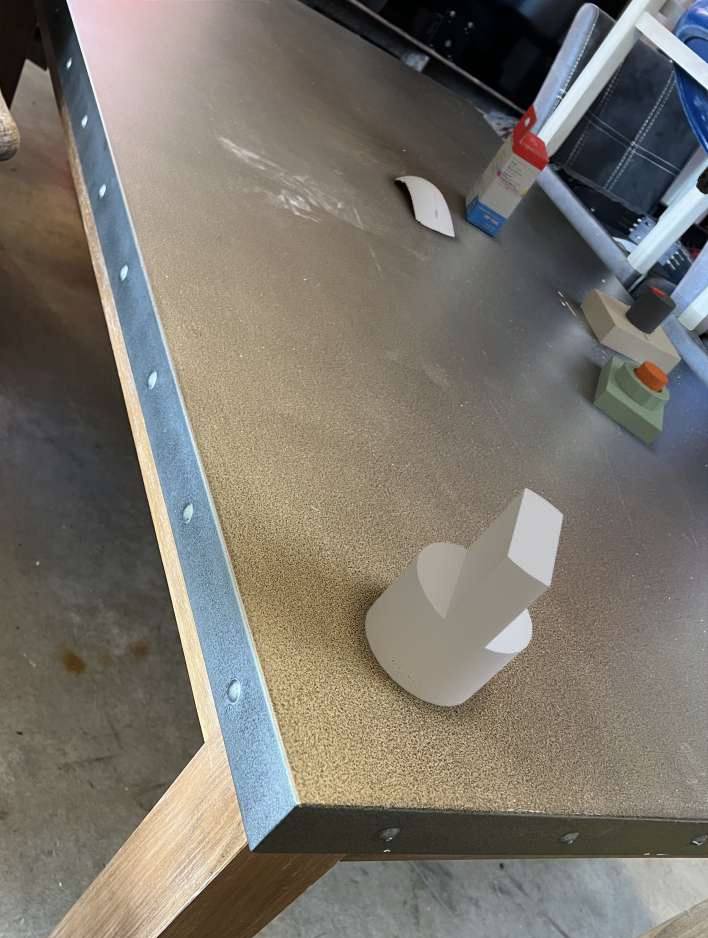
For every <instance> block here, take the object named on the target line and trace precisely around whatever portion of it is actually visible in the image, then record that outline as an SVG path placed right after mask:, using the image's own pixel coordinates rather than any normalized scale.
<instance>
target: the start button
mask: <svg viewBox="0 0 708 938" xmlns="http://www.w3.org/2000/svg"><path fill="white" fill-rule="evenodd" d="M640 365H641V366H640V367H639V368H638V369H637V370H636V371H635V372H634V373H635V374H636V376H637V378H638V379H639V380H640V381H641V382H642V383H643V384H645V385H646V386H647V387H649V388H650V389H651V390H653V391H655V392H657V393H658V392H659V391H660V390H661V389H662V388H663V387H664V385H665V386H666V385H667V383H669V377H668V375H666V374H665V373H664V372H663V371H662V370H661V369H660V368H659V367H657V366H656V365H655V364H653V363H651V362H649V361H644V362H643V363H642V364H640Z"/></svg>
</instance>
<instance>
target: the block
mask: <svg viewBox="0 0 708 938" xmlns="http://www.w3.org/2000/svg"><path fill="white" fill-rule="evenodd" d="M640 366H641V364H640V363H638V362H637V361H635V360H626V361H625V362H624V361H623V360H622V359H620V358H618V357H617V356H616V355H615V354H613V355H612V356H611V357H610V358H608V360H607V361H606V362H605V363H604V364H603V366H602V367H601V368H600V372H599V376H598V380H597V385H596V389H595V392H594V393H595V394H594V398H593V401H592V404H593V405H594V406H595V407H597V408H598V409H599V410H601V411H602V412H603V413H605V414H606V415H607V416H609V417H610V418H611V419H612V420H614V421H615V422H616V423H618V424H619V425H621V427H623V428H625V429H626V430H627V431H629V432H630V433H631V434H633V435H634V436H635V437H637V438H638V439H639V440H641V442H643V443H645V444H646V445H647V446H649V445H650V444H651V443H652V442H653V441H654V440H655V439H657V437H658V436H659V435H660V434H661V433H663V424H664V413H665V412H664V411H665V405H666V404H667V403H668V402H669V401H670V398H671V393H670V391H669V390H668V388H667V387H666V384H665V385H664V387H663V388H662V389H661V390H660V391H659V392H658V393H657V392H655V391H653V390H651V389H650V388H649V387H647V386H646V385H645V384H643V383H642V382H641V381H640V380H639V379H638V378H637V376H636V374H635V373H634V372H635V371H636V370H637V369H638V368H639V367H640Z"/></svg>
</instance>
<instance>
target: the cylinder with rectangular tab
mask: <svg viewBox="0 0 708 938" xmlns="http://www.w3.org/2000/svg"><path fill="white" fill-rule="evenodd" d="M563 519H564V514H563V513H562V512H561V511H560V510H559V509H557V508H556V507H555V506H554V505H553V504H551V503H550V502H549V501H547V499H545V498H543V497H542V496H541V495H539V494H538V493H535V492H534V491H532V490H531V489H529V488H527V487H525V488H524V489H522V491H521V492H520V493H519V494H518V495H517V496H516V497H515V498H514V499H513V500H512V501H511V502H510V503H509V504H508V505H507V506H506V507H505V509H504V510H503V511H502V512H501V513H500V514H499V515H498V516H497V517H496V518H495V519H494V521H492V522H491V523H490V525H488V526H487V527H486V529H485V530H484V531H483V532H482V533H481V534H480V535H479V536H478V537H477V539H476V540H474V542H472V544H471V545H470V546H469V547H468V548H466V547H463V546H462V545H459V544H455V543H451V542H446V541H442V542H432V543H430V544H428V545H426V546H424V547H423V548H422V549H421V550H420V551H419V553H417V554H416V556H415V557H414V558H413V559H412V560H411V561H410V563H408V565H406V567H404V569H403V570H402V572H400V574H399V575H397V577H396V578H395V579H394V580H393V581H392V582H391V584H390V585H389V586H388V587H387V588H386V589H385V590H384V591H383V592H382V593H381V595H380V596H379V597H378V598H377V599H376V600H375V602H374V603H373V604H372V605H371V606H370V608H369V609H368V611H367V612H366V615H365V620H364V629H365V637H366V640H367V642H368V645H369V648H370V650H371V652H372V654H373V656H374V658H375V659H376V660H377V662H378V664H379V665H380V667H381V668H382V669H383V670H384V671H385V673H386V674H387V675H388V676H389V677H390V678H391V680H393V681H394V682H395V683H396V684H397V685H399V686H400V687H401V688H402V689H403V690H405V691H406V692H407V693H409V694H410V695H412V696H414V697H416V698H418V699H419V700H421V701H422V702H423V701H424V702H426V703H429V704H432V705H435V706H440V707H454V706H457V705H458V706H459V705H462V704H463V703H465V702H466V701H468V700H469V699H470V698H471V697H472V696H474V694H475V693H477V692H478V691H479V690H480V689H481V688H482V687H484V686H485V685H486V684H487V683H488V682H489V681H490V680H491V679H492V678H493V677H494V676H496V675H497V674H498V673H499V672H500V671H502V669H503V668H505V667H506V666H507V665H508V664H509V663H510V662H511V661H513V660H514V659H515V658H516V657H517V656H518V655H519V654H520V653H522V652H523V651H524V650H525V649H526V648H527V647H528V646H529V644H530V642H531V640H532V637H533V623H532V619H531V615H530V612H529V610H528V609H529V607H530V606H531V605H532V604H534V602H535V601H536V600H538V598H539V597H541V596H542V595H543V594H544V593H545V592H546V591H547V590H548V589H550V587H551V585H552V579H553V573H554V568H555V563H556V558H557V552H558V548H559V541H560V537H561V536H560V535H561V530H562V525H563ZM387 654H388V655H387ZM389 657H390V658H391V659H393V661H394V662H393V661H392V660H391V659H390V658H389ZM396 664H397V666H398V667H399V668H400V669H401V670H402V671H403V672H404V673H403V672H402V671H401V670H400V669H399V668H398V667H397V666H396ZM408 676H409V677H410V678H411V679H410V678H409V677H408ZM413 680H414V681H413ZM417 683H418V684H417ZM420 685H421V686H420ZM438 694H439V695H438Z"/></svg>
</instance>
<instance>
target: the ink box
mask: <svg viewBox="0 0 708 938" xmlns="http://www.w3.org/2000/svg"><path fill="white" fill-rule="evenodd" d="M528 119H529V120H528ZM527 121H529V122H528V123H527ZM537 122H538V118H537V113H536V109H535V105H534V104H531V105H530V106H529V107H528V108H527V110H526V111H525V113H524V114H523V115H522V117H521V118H520V120H519V121H518V122H517V123H516V125H515V126H514V128H513V129H512V130H511V132H510V134H509V135H508V137H507V138H506V139H505V141H504V143H503V144H502V145H501V147H500V148H499V149H498V151H497V152H496V154H495V155H494V156H493V158H492V159H491V160H490V163H489V164H488V166H487V167H486V169H485V170H484V171H483V173H482V174H481V176H480V177H479V179H478V180H477V181H476V183H475V185H474V186H473V188H472V189H471V190H470V191H469V193H468V194H467V196H466V197H465V215H466V218H465V219H466V221H467V222H469V223H470V224H472V225H473V226H475V227H477V228H478V229H480V230H482V231H483V232H484V233H486V234H488V235H489V236H491V237H493V238H495V237H496V236H497V235H498V233H499V232H500V230H501V229H502V227H503V226H504V224H505V223H506V222H507V221H508V219H509V218H510V217H511V215H512V214H513V212H514V210H516V208H517V206H518V205H519V204H520V202H521V200H523V198H524V197H525V195H526V194H527V193H528V191H529V190H530V189H531V187H532V186H533V184H534V183H535V182H536V180H537V179H538V177H539V176H540V175H541V173H542V172H543V171H544V169H545V168H546V166H547V165H548V164H549V163H550V158H549V155H548V151H547V147H546V143H545V141H544V140H543V139H542V138H540V137H539V136H537V135H536V134H535V133H533V132H532V130H533V128H534V127H535V126H536V124H537Z"/></svg>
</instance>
